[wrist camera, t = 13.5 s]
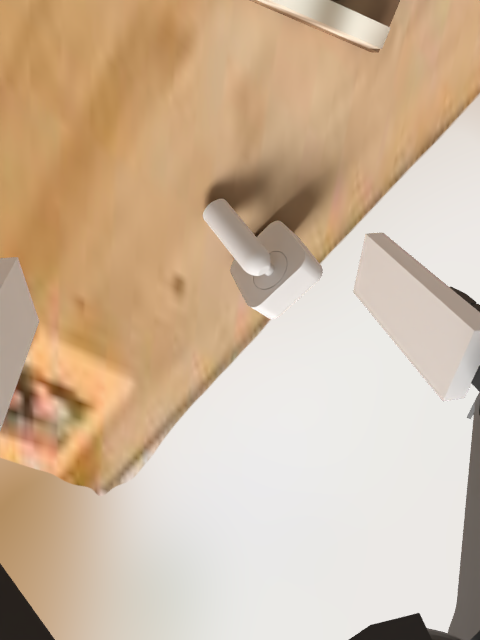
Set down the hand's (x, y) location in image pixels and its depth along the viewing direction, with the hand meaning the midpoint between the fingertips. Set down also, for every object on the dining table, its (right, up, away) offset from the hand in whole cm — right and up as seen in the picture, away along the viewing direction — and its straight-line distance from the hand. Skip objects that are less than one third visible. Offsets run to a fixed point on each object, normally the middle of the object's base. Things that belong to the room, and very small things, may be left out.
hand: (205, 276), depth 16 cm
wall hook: (+2, +8, +30) cm, 31 cm away
